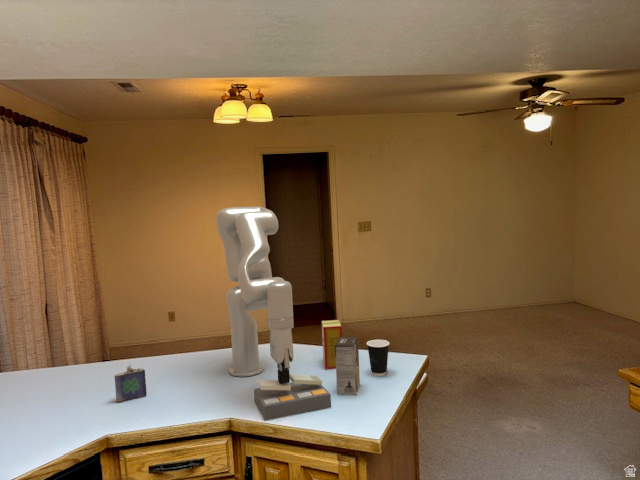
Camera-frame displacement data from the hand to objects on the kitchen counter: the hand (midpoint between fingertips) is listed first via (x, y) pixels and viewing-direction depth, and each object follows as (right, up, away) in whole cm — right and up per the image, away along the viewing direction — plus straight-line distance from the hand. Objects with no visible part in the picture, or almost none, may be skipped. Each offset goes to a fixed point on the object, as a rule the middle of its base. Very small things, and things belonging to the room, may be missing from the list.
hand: (284, 382), depth 142 cm
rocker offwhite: (-3, -1, -1) cm, 3 cm away
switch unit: (+2, -7, 0) cm, 7 cm away
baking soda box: (+16, -4, +34) cm, 38 cm away
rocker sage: (+6, 0, +2) cm, 7 cm away
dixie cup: (+31, -4, +22) cm, 39 cm away
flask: (-50, -9, +10) cm, 52 cm away
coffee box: (+20, -6, +10) cm, 23 cm away
